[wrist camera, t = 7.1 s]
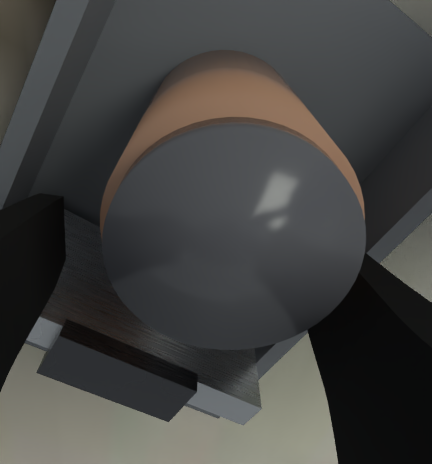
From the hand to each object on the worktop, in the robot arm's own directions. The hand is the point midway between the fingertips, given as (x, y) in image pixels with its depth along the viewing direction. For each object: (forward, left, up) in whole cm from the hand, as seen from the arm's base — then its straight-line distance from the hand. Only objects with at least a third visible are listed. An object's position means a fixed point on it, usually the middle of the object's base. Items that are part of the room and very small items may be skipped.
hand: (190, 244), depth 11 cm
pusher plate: (0, +4, -4) cm, 6 cm away
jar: (0, -2, -4) cm, 4 cm away
